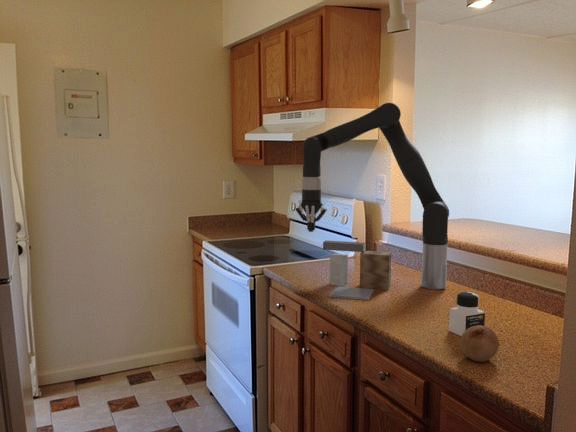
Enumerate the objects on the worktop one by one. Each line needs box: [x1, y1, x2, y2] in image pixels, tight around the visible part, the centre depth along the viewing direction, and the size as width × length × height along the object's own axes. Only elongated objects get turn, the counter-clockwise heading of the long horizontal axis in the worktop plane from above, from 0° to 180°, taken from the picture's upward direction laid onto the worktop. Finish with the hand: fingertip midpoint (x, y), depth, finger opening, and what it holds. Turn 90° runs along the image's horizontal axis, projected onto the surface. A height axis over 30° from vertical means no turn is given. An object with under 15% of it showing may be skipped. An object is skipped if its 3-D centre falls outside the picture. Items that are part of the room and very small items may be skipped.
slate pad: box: [329, 285, 375, 301], centre depth 197 cm, size 14×12×1 cm
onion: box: [459, 325, 500, 363], centre depth 137 cm, size 10×9×10 cm
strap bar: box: [322, 240, 366, 253], centre depth 208 cm, size 16×4×3 cm, turn 72°
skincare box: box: [329, 253, 349, 287], centre depth 210 cm, size 6×4×12 cm
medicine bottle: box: [448, 291, 486, 337], centre depth 156 cm, size 7×7×12 cm
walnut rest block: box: [359, 250, 392, 291], centre depth 206 cm, size 11×6×14 cm, turn 72°
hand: (311, 231), depth 212 cm, fingers closed
